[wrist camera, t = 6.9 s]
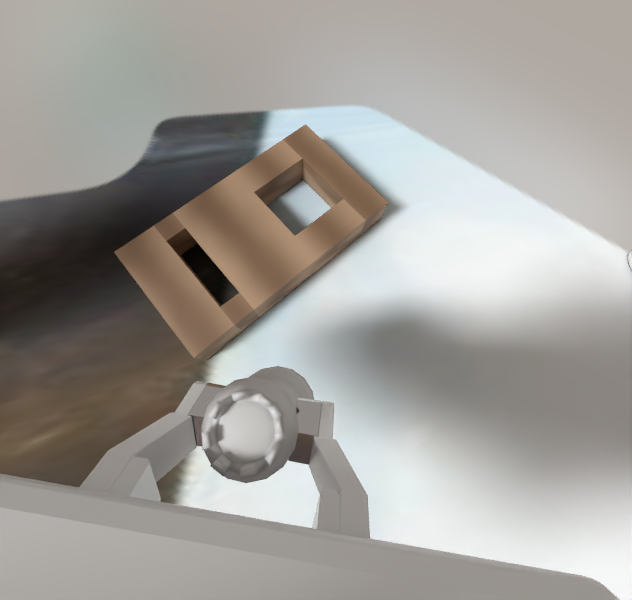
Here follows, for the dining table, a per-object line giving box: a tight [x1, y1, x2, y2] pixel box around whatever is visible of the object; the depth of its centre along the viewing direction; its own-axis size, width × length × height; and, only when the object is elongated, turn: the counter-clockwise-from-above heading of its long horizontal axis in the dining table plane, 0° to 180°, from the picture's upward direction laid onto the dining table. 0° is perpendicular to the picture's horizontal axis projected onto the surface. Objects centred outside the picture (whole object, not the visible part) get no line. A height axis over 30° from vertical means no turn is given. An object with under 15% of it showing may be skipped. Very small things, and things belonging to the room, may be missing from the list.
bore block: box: [114, 125, 388, 360], centre depth 27 cm, size 22×12×3 cm, turn 131°
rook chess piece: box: [201, 366, 314, 483], centre depth 12 cm, size 4×4×8 cm
